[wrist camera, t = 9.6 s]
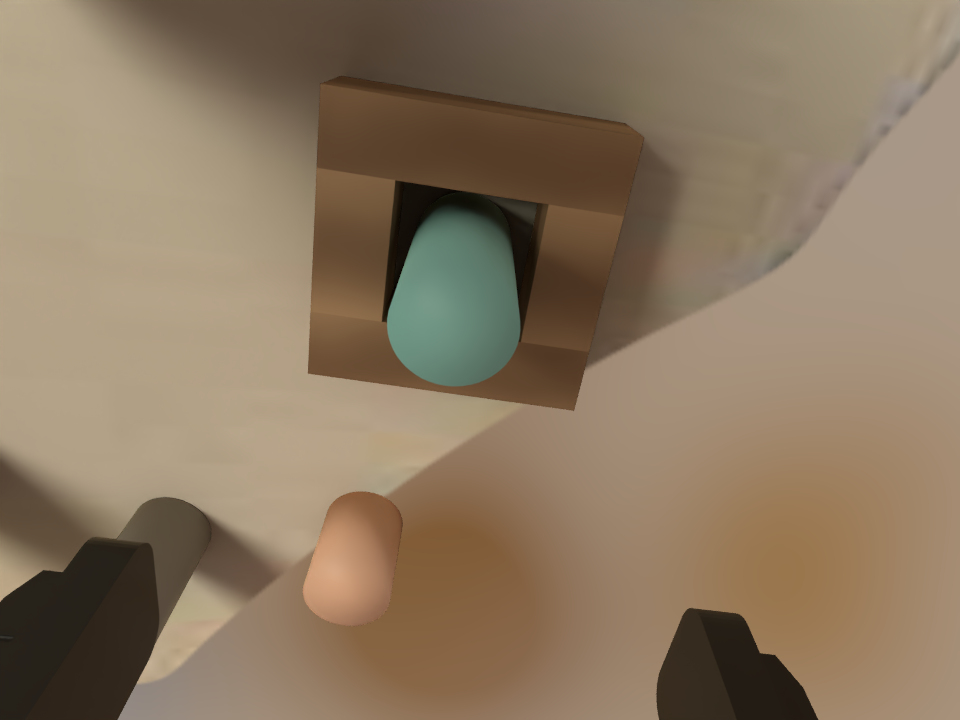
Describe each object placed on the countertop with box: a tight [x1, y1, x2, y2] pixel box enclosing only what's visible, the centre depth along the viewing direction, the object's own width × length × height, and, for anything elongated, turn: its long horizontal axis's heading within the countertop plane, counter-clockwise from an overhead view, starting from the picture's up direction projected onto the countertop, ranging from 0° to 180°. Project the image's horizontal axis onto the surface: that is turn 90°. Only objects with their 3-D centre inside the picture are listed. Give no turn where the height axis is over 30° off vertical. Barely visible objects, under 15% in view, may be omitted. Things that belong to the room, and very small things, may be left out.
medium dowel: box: [387, 192, 520, 386], centre depth 24 cm, size 4×4×9 cm
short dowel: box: [303, 492, 402, 626], centre depth 33 cm, size 4×4×5 cm
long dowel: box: [117, 498, 211, 643], centre depth 29 cm, size 4×4×13 cm
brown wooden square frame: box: [308, 76, 644, 411], centre depth 26 cm, size 11×11×4 cm
